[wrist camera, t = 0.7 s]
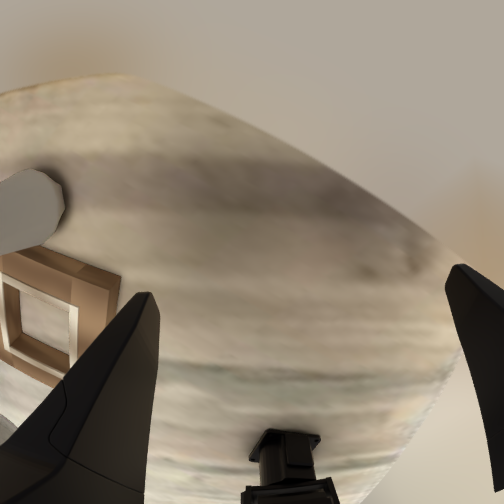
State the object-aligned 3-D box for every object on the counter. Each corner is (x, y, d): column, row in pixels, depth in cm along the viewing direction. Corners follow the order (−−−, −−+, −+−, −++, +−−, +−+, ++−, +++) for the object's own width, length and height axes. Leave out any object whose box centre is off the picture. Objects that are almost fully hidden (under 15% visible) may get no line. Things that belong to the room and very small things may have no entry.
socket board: (108, 392, 27) (100, 410, 25) (4, 343, 26) (-8, 356, 23) (121, 276, 23) (108, 291, 20) (-4, 227, 21) (-22, 236, 19)
